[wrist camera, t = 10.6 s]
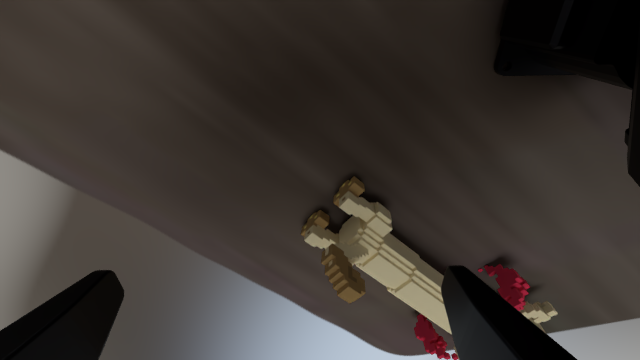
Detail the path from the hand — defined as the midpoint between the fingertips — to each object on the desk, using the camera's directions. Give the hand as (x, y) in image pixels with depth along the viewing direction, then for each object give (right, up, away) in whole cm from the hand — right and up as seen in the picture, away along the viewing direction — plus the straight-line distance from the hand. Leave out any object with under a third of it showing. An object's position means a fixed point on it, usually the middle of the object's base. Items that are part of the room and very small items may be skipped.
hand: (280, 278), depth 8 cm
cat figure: (+11, -5, +18) cm, 22 cm away
